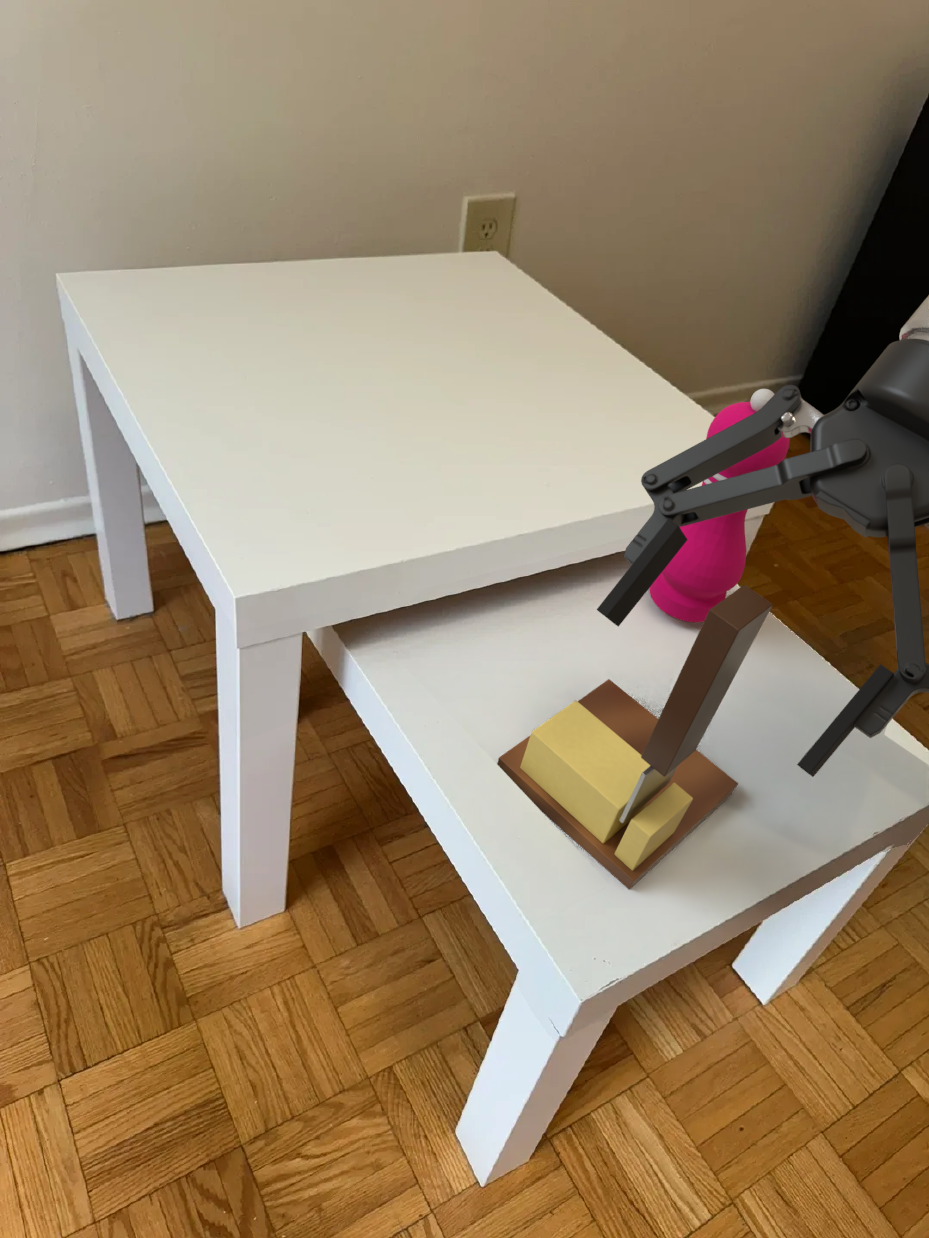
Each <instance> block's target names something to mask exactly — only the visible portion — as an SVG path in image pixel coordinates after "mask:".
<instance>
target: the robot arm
mask: <svg viewBox="0 0 929 1238" xmlns="http://www.w3.org/2000/svg"><path fill="white" fill-rule="evenodd" d="M898 337H899V340H896V341H893V342H891V343H889V344H888V345H887V346H886V348H885V349H884V350H883V352H882V353H881V354H880V355H879V357H877V358H876V360H875V361H874V363H873V364H872V365H871V366H870V368H869V369H868V370H867V371H866V372H865V374H864V375H863V376H862V377H861V379H860V380H859V381H858V382H857V384H856V385H855V386H854V388H853V389H851V391H850V393H849V394H847V397H845V399H844V400H843V402H842V403H840V405H839V406H838V407H836V408H835V409H834V410H831V411H829V412H828V413H826V414H823V413H822V412H821V411H820V410H818V409H816V408H815V407H814V406H812V405H811V404H810V403H808V402H807V401H806V400H805V399H803V397H802V395H801V391H800V388H799V387H798V386H796V385H794V384H785V385H783V386H782V387H780V388H779V389H778V391H776V392H775V393H774V396H773V397H772V398H771V399H770V400H769V401H768V402H767V403H766V404H765V405H764V406H763V407H762V408H761V409H760V410H759V411H758V412H756V413H754V414H752V415H750V416H748V417H746V418H745V419H743V420H741V421H739V422H737V423H735V424H733V425H732V426H730V427H728V428H726V429H724V430H722V431H720V432H719V433H717V434H715V435H713V436H711V437H709V438H708V439H706V438H705V439H704V440H702V441H701V442H698V443H696V444H695V445H692V446H691V447H689V448H687V449H685V450H684V451H681V452H680V453H678V454H676V455H674V456H672V457H671V458H668V459H667V460H665V461H663V462H661V463H659V464H657V465H656V466H654V467H651V468H650V469H648V470H646V472H644V473H643V475H642V476H641V479H640V483H641V486H642V487H643V488H644V490H645V491H646V492H647V494H648V496H649V498H650V499H651V501H652V503H653V506H654V508H653V509H654V510H653V512H652V514H651V516H650V517H649V518H648V519H647V521H646V522H645V523H644V524H643V526H642V527H641V528H640V530H639V531H638V532H637V534H636V535H635V536H634V537H633V539H632V540H631V541H630V542H629V544H627V546H626V547H625V550H624V554H623V558H624V559H625V560H626V562H628V563H629V564H630V565H631V566H630V567H629V568H628V569H627V570H626V572H625V573H624V574H623V576H622V577H621V578H620V579H619V581H618V582H617V583H616V584H615V586H614V587H613V588H612V589H611V591H610V592H609V593H608V594H607V596H606V597H605V598H604V599H603V600H602V602H601V603H600V605H599V606H598V607H597V608H596V611H597V612H598V613H600V614H601V615H603V616H604V617H605V618H606V619H607V620H608V621H610V622H611V623H613V624H614V625H615V626H617V628H619V627H620V626H621V624H622V623H623V622H624V621H625V619H626V618H627V617H628V616H629V614H630V613H631V612H632V611H633V609H634V608H635V607H636V605H638V603H639V602H640V601H641V599H642V598H643V597H644V596H645V594H646V593H647V592H648V591H649V589H650V586H651V585H652V584H653V583H654V581H655V580H656V579H657V578H658V576H659V575H660V574H661V573H662V571H663V570H664V569H665V568H666V566H667V565H668V564H669V563H670V561H671V560H672V559H673V558H674V556H675V555H676V554H677V553H678V551H679V550H680V549H681V547H682V546H683V545H684V544H685V542H686V541H687V538H686V536H685V535H684V533H683V532H682V530H681V529H680V527H682V526H686V525H690V524H693V523H697V522H701V521H705V520H709V519H712V518H716V517H720V516H724V515H728V514H732V513H735V512H739V511H743V510H747V509H748V510H751V509H755V508H758V507H762V506H765V505H770V504H773V503H778V502H781V501H785V500H788V501H795V500H799V499H804V498H807V497H812V499H813V500H814V502H815V503H816V506H817V509H819V510H821V511H822V512H824V513H825V514H827V515H829V516H832V517H834V518H838V519H841V520H843V521H845V522H846V523H847V524H848V525H849V526H850V527H851V529H852V530H853V531H854V532H856V533H857V534H859V535H860V536H862V537H864V538H866V539H867V538H868V537H871V538H872V537H873V538H886V537H887V551H888V562H889V571H890V572H889V573H890V587H891V598H892V599H891V600H892V610H893V613H892V614H893V624H894V635H895V636H894V638H895V649H896V651H895V652H896V663H897V669H896V670H895V672H893V671H891V670H890V669H888V668H887V667H885V666H884V665H883V664H882V663H880V664H879V665H878V667H876V669H875V670H874V671H873V672H872V674H871V675H870V676H869V677H868V678H867V679H866V681H865V682H864V683H863V684H862V685H861V687H860V688H859V690H857V692H856V693H855V694H854V695H853V696H852V698H851V699H850V700H849V701H848V703H847V704H846V705H845V706H844V707H843V708H842V710H841V711H840V712H839V713H838V715H837V716H836V717H835V718H834V719H833V720H832V722H831V723H829V725H828V727H827V728H826V729H825V730H824V732H823V733H822V734H821V735H820V736H819V737H818V739H816V741H815V742H814V743H813V745H811V746H810V748H809V750H808V751H807V752H806V753H805V754H804V756H802V758H801V759H800V760H799V761H798V763H797V764H796V766H798V767H799V768H800V769H801V770H803V771H804V772H805V773H806V774H808V775H809V776H810V777H812V778H814V777H815V776H816V774H818V773H819V771H820V770H821V768H822V767H823V766H824V765H825V764H826V762H828V760H829V759H830V758H831V756H832V755H833V754H834V753H835V752H836V751H837V749H839V747H840V746H841V744H842V743H843V742H844V741H845V740H846V739H847V737H848V736H850V734H851V733H852V731H853V730H854V729H857V730H858V731H859V732H861V733H862V734H864V735H865V736H866V737H868V738H869V739H872V738H874V737H876V736H877V735H880V734H881V733H882V732H883V730H885V728H886V727H887V725H889V723H890V722H891V721H892V720H893V718H894V717H895V716H896V715H897V714H898V713H899V711H900V710H901V709H902V708H903V707H904V705H905V704H907V702H908V700H909V699H910V698H911V697H913V696H914V695H916V694H919V693H927V694H929V663H927V662H926V661H927V660H926V651H925V650H926V649H925V639H924V638H925V637H924V628H923V617H922V616H923V615H922V603H921V591H920V590H921V589H920V580H919V579H920V577H919V567H918V559H917V558H918V557H917V539H916V528H919V527H921V526H924V525H927V524H929V294H928V296H927V297H926V298H925V299H924V300H923V302H921V304H920V305H919V306H918V307H917V309H916V310H915V311H914V312H913V313H912V315H911V316H910V317H909V319H907V321H906V322H905V324H904V325H903V326H902V327H901V328H900V332H899V336H898ZM802 433H808V434H810V448H809V449H810V451H809V452H805V453H801V454H799V455H795V456H791V457H788V458H784V460H783V461H781V462H780V463H779V464H777V465H775V466H771V467H768V468H764V469H760V470H757V471H753V472H750V473H746V474H742V475H739V476H735V477H731V478H728V479H724V480H721V481H717V482H713V483H710V484H706V485H702V482H703V481H704V480H706V479H708V478H710V477H712V476H714V475H716V474H718V473H720V472H721V471H723V470H725V469H727V468H729V467H731V466H733V465H735V464H737V463H739V462H740V461H742V460H744V459H746V458H748V457H750V456H752V455H754V454H756V453H758V452H759V451H761V450H763V449H765V448H767V447H769V446H770V445H772V444H773V443H775V442H776V441H777V440H779V439H780V438H781V437H784V438H790V439H791V438H794V437H795V436H797V435H799V434H802ZM699 484H701V485H699ZM697 485H699V486H697ZM748 510H747V511H748Z"/></svg>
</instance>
